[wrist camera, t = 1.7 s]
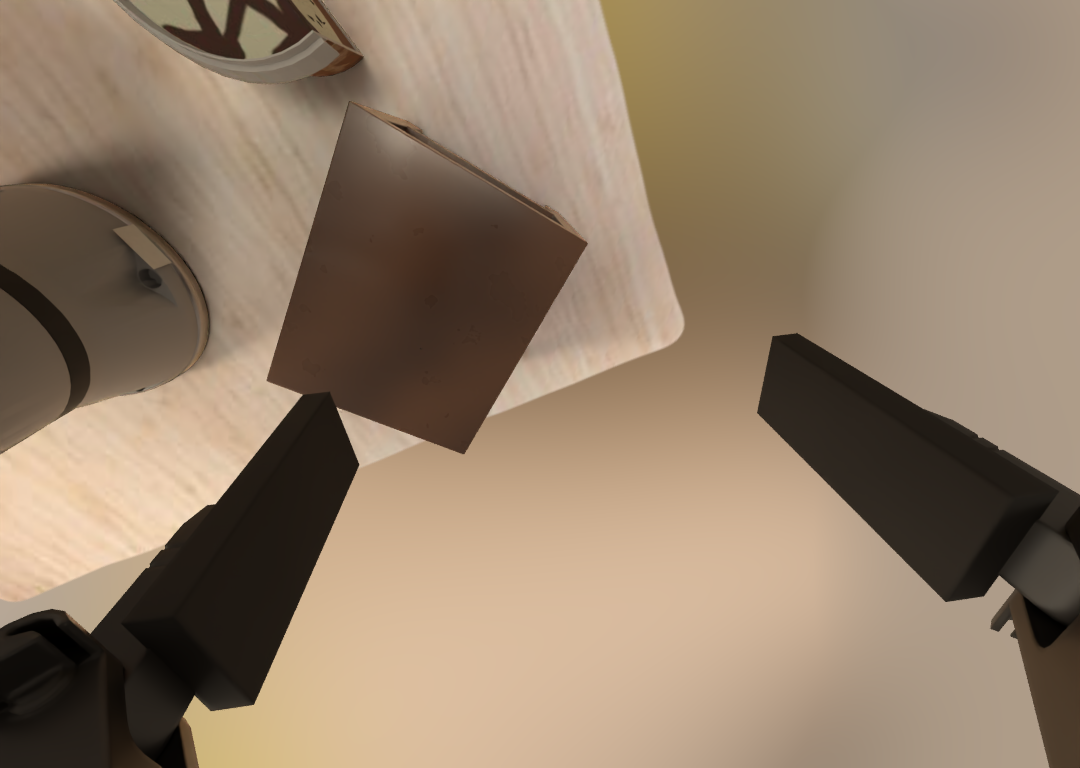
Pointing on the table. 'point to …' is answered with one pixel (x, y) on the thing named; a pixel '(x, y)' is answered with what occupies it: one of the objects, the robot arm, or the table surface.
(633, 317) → the table surface
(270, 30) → the food container
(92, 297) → the robot arm
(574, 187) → the table surface
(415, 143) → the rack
